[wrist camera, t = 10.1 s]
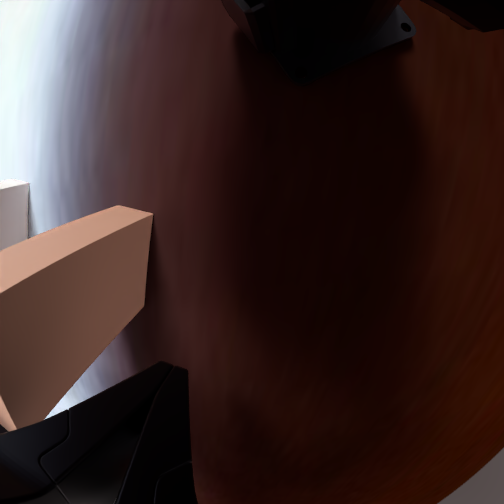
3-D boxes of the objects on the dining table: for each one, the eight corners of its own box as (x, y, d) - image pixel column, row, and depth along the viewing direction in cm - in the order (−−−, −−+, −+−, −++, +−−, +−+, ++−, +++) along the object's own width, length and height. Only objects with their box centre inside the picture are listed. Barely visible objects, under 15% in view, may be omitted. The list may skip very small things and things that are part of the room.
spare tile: (153, 213, 14) (-29, 311, 4) (144, 305, 15) (24, 443, 6) (117, 205, 14) (-62, 281, 4) (112, 294, 15) (-14, 412, 6)
